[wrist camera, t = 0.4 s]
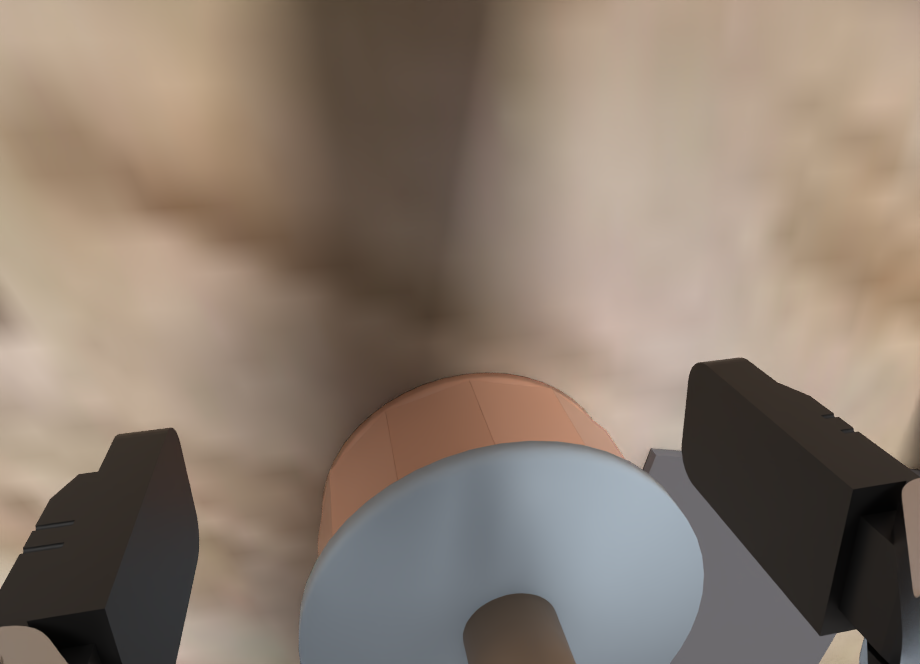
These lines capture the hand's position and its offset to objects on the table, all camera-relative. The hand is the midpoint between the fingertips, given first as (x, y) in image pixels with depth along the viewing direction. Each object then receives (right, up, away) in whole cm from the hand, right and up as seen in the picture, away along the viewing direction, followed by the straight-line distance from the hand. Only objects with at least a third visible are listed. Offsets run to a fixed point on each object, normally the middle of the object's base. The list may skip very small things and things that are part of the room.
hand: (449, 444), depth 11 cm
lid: (+2, -10, +19) cm, 22 cm away
